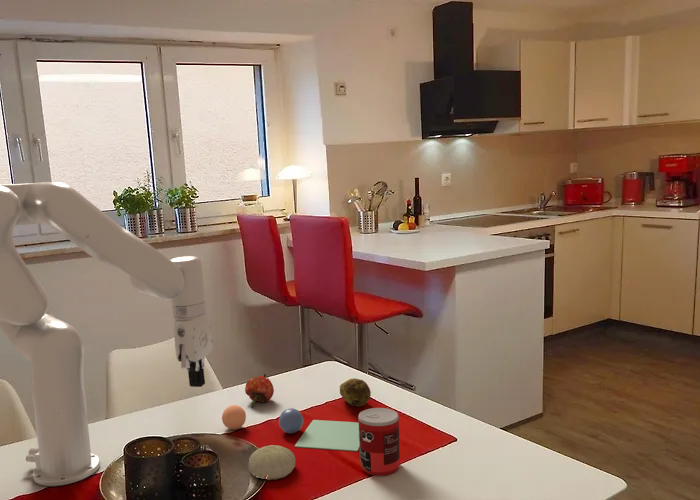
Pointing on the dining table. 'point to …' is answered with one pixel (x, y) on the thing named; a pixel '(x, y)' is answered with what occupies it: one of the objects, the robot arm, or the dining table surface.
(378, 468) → the canned food
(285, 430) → the blue ball
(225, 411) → the peach ball
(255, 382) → the pomegranate
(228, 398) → the dining table surface
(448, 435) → the dining table surface
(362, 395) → the potato
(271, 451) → the sea urchin shell
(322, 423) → the green mark
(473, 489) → the dining table surface
